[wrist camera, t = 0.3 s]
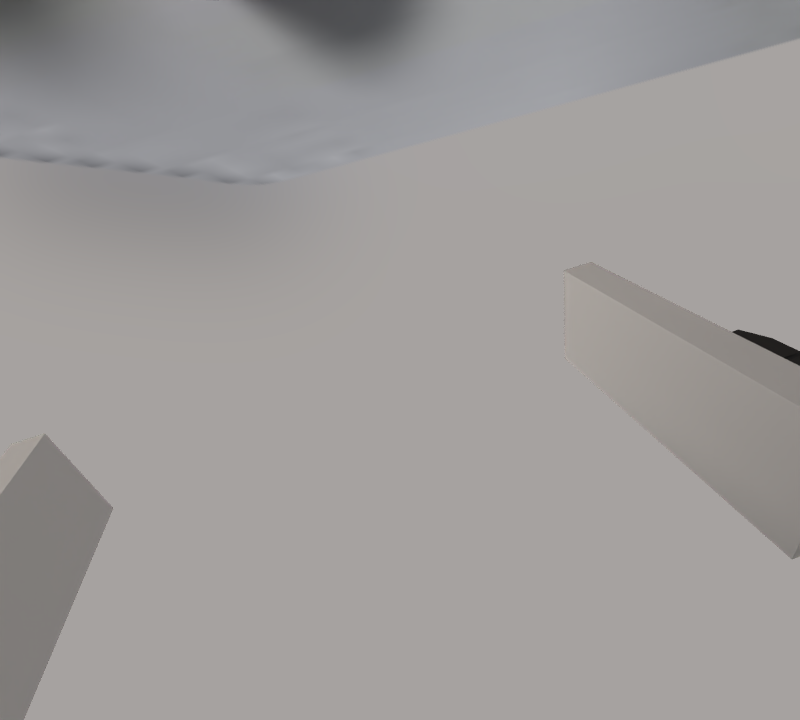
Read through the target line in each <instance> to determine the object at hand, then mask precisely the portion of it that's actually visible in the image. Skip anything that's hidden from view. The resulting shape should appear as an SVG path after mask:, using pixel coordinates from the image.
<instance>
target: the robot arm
mask: <svg viewBox="0 0 800 720" xmlns="http://www.w3.org/2000/svg"><path fill="white" fill-rule="evenodd" d="M564 316H565V317H564V321H565V359H566V360H567V361H569V362H570V363H571V364H572V365H573V366H574V367H575V368H577V369H578V370H579V371H580V372H581V373H582V374H583V375H584V376H586V377H587V378H588V379H589V380H590V381H591V382H592V383H593V384H595V385H596V386H597V387H598V388H599V389H600V390H601V391H603V392H604V393H605V394H606V395H607V396H608V397H609V398H610V399H611V400H613V401H614V402H615V403H616V404H617V405H618V406H619V407H621V408H622V409H623V410H624V411H625V412H626V413H627V414H628V415H630V416H631V417H632V418H633V419H634V420H635V421H636V422H637V423H639V424H640V425H641V426H642V427H643V428H644V429H645V430H647V431H648V432H649V433H650V434H651V435H652V436H653V437H654V438H656V439H657V440H658V441H659V442H660V443H661V444H662V445H663V446H665V447H666V448H667V449H668V450H669V451H670V452H671V453H673V454H674V455H675V456H676V457H677V458H678V459H679V460H680V461H682V462H683V463H684V464H685V465H686V466H687V467H689V469H691V470H692V471H693V472H694V473H695V474H696V475H697V476H698V477H700V478H701V479H702V480H703V481H704V482H705V483H706V484H707V485H709V486H710V487H711V488H712V489H713V490H714V491H715V492H716V493H718V494H719V495H720V496H721V497H722V498H723V499H724V500H725V501H727V502H728V503H729V504H730V505H731V506H732V507H733V508H735V509H736V510H737V511H738V512H739V513H740V514H741V515H742V516H744V517H745V518H746V519H747V520H748V521H749V522H750V523H751V524H753V525H754V526H755V527H756V528H757V529H758V530H759V531H760V532H762V533H763V534H764V535H765V536H766V537H767V538H768V539H770V540H771V541H772V542H773V543H774V544H775V545H776V546H777V547H779V548H780V549H781V550H782V551H783V552H784V553H785V554H786V555H788V556H789V557H790V558H791V559H794V558H796V557H799V556H800V351H798V350H796V349H794V348H792V347H789V346H787V345H785V344H783V343H781V342H779V341H777V340H775V339H772V338H769V337H765V336H761V335H757V334H753V333H749V332H745V331H741V330H736V331H733V332H731V331H728V330H726V329H724V328H722V327H720V326H718V325H716V324H714V323H712V322H710V321H708V320H706V319H704V318H702V317H700V316H698V315H696V314H694V313H692V312H690V311H688V310H686V309H684V308H682V307H680V306H678V305H676V304H674V303H672V302H670V301H668V300H666V299H664V298H662V297H660V296H658V295H656V294H654V293H652V292H650V291H648V290H646V289H644V288H642V287H640V286H638V285H636V284H634V283H632V282H630V281H628V280H626V279H624V278H622V277H620V276H618V275H616V274H614V273H612V272H610V271H608V270H606V269H604V268H602V267H600V266H598V265H596V264H594V263H592V262H590V263H587V264H583V265H580V266H577V267H573V268H570V269H567V270H564ZM112 510H113V507H112V506H111V505H110V504H109V503H108V502H107V501H106V500H105V499H104V498H103V496H102V495H101V494H100V493H99V492H98V491H97V490H96V489H95V488H94V487H93V486H92V484H91V483H90V482H89V481H88V480H87V479H86V478H85V477H84V476H83V475H82V474H81V472H80V471H79V470H78V469H77V468H76V467H75V466H74V465H73V464H72V463H71V462H70V460H69V459H68V458H67V457H66V456H65V455H64V454H63V453H62V452H61V451H60V449H59V448H58V447H57V446H56V445H55V444H54V443H53V442H52V441H51V440H50V439H49V437H48V436H47V435H46V434H42V435H38V436H35V437H32V438H29V439H26V440H23V441H19V442H16V443H13V444H11V445H10V446H9V447H8V449H7V450H6V451H5V452H4V454H3V455H2V456H1V457H0V720H24V718H25V715H26V713H27V711H28V708H29V706H30V704H31V701H32V699H33V696H34V694H35V692H36V690H37V687H38V685H39V682H40V680H41V678H42V675H43V673H44V671H45V668H46V666H47V664H48V661H49V659H50V656H51V654H52V652H53V649H54V647H55V644H56V642H57V640H58V638H59V635H60V633H61V630H62V628H63V626H64V623H65V621H66V619H67V616H68V614H69V612H70V609H71V606H72V604H73V602H74V600H75V597H76V595H77V593H78V590H79V588H80V586H81V583H82V581H83V578H84V576H85V574H86V571H87V569H88V567H89V564H90V562H91V560H92V557H93V555H94V552H95V550H96V548H97V545H98V543H99V540H100V538H101V536H102V534H103V531H104V529H105V526H106V524H107V522H108V519H109V517H110V514H111V512H112Z"/></svg>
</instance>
